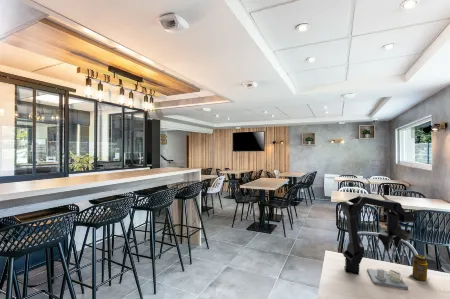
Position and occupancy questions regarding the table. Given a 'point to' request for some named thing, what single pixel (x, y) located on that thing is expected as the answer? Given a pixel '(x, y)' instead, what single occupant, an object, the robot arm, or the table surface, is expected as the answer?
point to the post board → (385, 279)
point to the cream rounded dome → (394, 275)
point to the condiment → (419, 269)
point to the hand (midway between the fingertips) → (392, 249)
